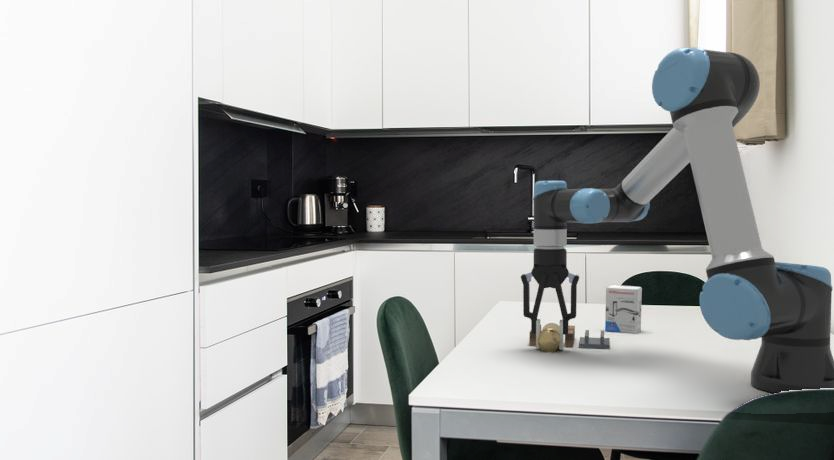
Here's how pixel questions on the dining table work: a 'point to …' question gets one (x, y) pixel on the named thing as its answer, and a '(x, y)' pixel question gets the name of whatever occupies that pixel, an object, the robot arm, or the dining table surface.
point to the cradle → (594, 341)
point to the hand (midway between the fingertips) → (549, 347)
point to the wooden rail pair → (568, 338)
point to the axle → (549, 337)
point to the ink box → (623, 309)
